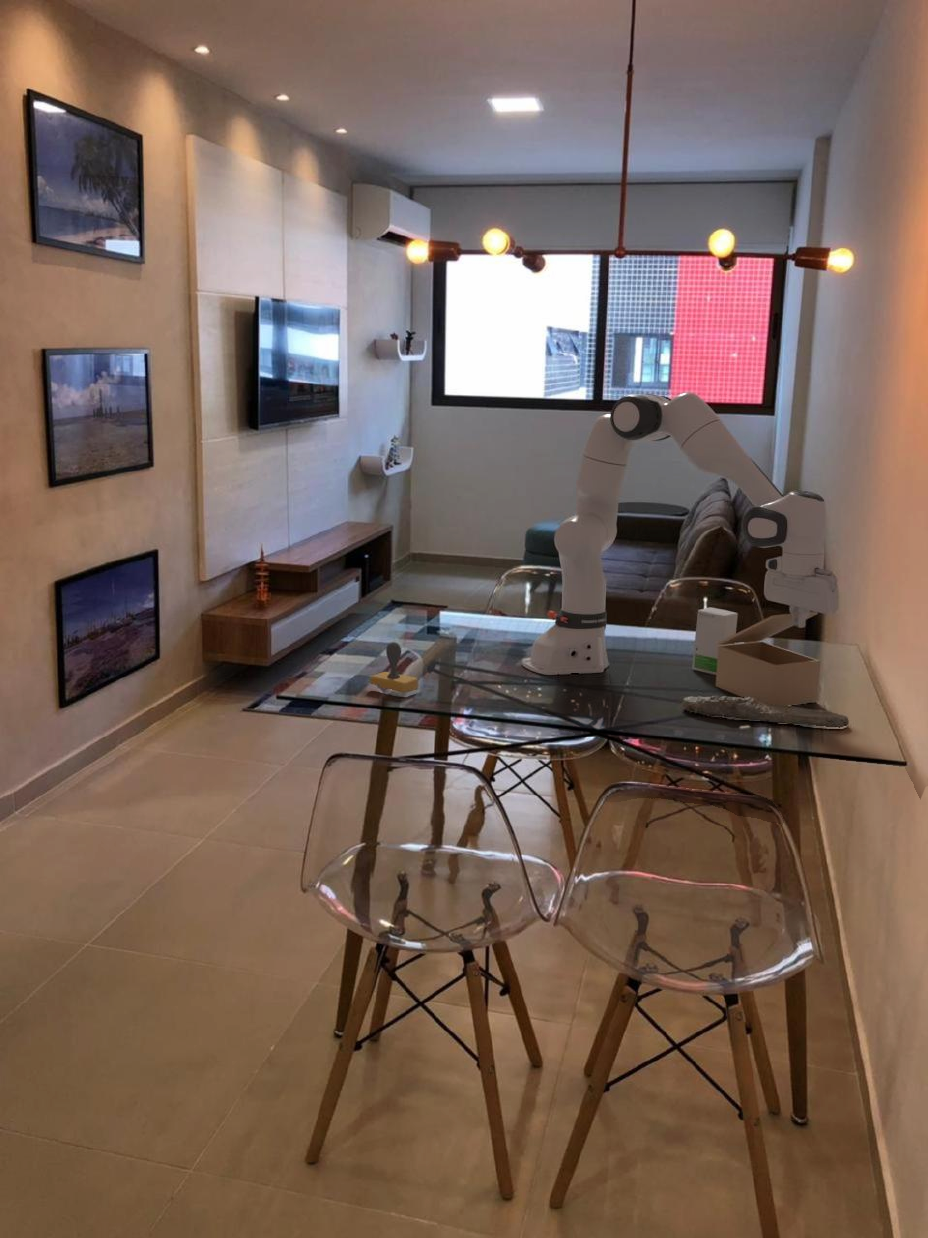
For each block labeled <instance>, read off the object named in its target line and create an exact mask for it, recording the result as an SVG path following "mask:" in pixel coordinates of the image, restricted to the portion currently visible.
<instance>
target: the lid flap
mask: <svg viewBox="0 0 928 1238" xmlns="http://www.w3.org/2000/svg"><path fill="white" fill-rule="evenodd" d="M818 613H819V612H815V611H810V614H809V616H808V617H807V619H806V620H808V619H811V618H813V617H814V616H816V615H818ZM792 621H793V618H792V616H791V613H786V614H785V613H784V614H776V615H774V614H773V615H770V616H769V617H766V618H764V619H762V620H760V621H758V622H756V623H755V624H753V625H750V626H749V627H747V628H744V629H742V630H741V631H739V632H736V634H734V635H732V636H730V637H728V638H727V639H725V640H723V641H721V642H719V643H718V644H719V645H724V644H734V643H735V644H741V643H750V642H760V641H762V642H763V641H765V640H766V639H768V638H770V637H773V636H775V635H777V634H778V633H781V632H783V631H785V630H787V629H789V628H791V627H794V626H793V625H792Z"/></svg>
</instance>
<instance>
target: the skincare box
mask: <svg viewBox="0 0 928 1238" xmlns="http://www.w3.org/2000/svg"><path fill="white" fill-rule="evenodd" d="M696 615H697V616H696V625H695V627H696V628H695V634H694V635H695V637H694V644H693V645H694V646H693V647H694V648H693V658H692V667H691V668H692V670H694V671H697V672H698V671H699V672H702V673H706V674H710V675H715V676H716V673H717V659H718V646H722V645H719V644H718V643H719V642H721V641H723V640H725V639H727V638H728V637H730V636H732V635H734V634H736V633H737V625H738V615H739V613H738V612H734V611H730V610H726V609H721V608H717V607H711V606H709V607H706V608H701V609H698V610H697V614H696ZM734 644H736V643H734ZM724 645H732V644H724Z"/></svg>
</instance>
